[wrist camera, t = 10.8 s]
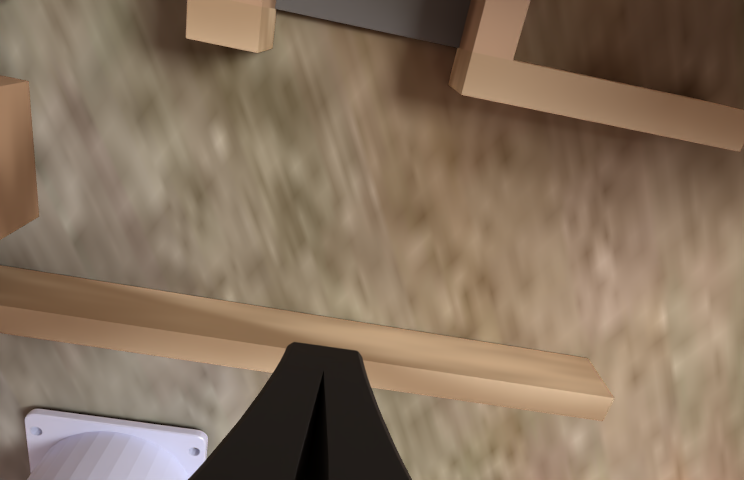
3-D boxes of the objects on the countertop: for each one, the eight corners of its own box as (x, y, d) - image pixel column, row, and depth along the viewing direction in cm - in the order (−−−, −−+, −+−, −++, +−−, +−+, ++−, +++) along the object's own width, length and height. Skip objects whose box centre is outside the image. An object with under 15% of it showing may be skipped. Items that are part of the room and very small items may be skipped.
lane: (578, 379, 22) (614, 440, 19) (-174, 264, 19) (-282, 312, 16) (785, -71, 15) (899, -96, 12) (-351, -358, 12) (-606, -493, 9)
